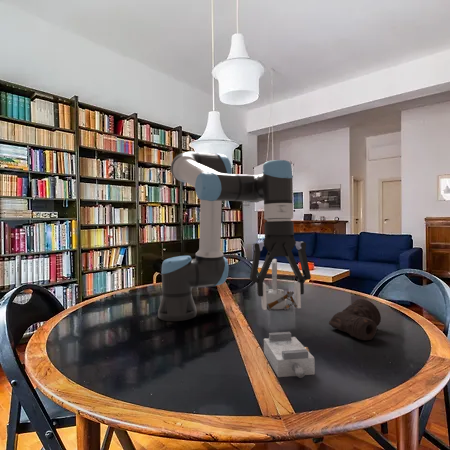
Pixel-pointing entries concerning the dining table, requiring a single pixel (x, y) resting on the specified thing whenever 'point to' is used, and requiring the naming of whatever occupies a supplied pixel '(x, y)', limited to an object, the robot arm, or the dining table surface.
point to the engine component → (275, 289)
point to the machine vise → (288, 355)
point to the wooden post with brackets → (289, 294)
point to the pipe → (358, 320)
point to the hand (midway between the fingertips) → (281, 307)
